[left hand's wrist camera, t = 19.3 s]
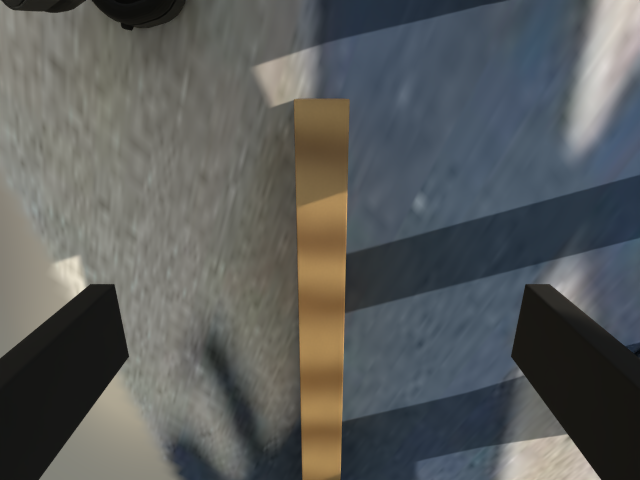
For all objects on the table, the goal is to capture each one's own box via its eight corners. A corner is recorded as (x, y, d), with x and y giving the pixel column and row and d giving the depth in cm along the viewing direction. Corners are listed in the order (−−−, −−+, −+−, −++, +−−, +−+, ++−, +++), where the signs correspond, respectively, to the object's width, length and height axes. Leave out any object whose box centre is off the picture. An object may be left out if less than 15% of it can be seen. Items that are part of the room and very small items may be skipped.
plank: (298, 98, 45) (293, 99, 37) (344, 98, 45) (349, 99, 37) (305, 500, 68) (303, 553, 60) (336, 500, 68) (338, 553, 60)
